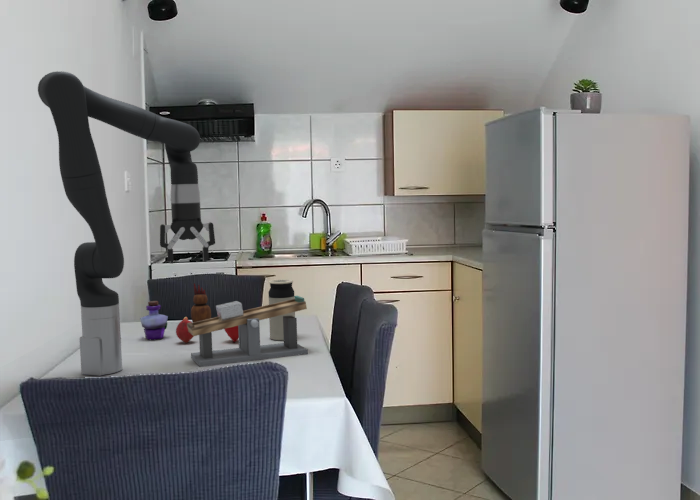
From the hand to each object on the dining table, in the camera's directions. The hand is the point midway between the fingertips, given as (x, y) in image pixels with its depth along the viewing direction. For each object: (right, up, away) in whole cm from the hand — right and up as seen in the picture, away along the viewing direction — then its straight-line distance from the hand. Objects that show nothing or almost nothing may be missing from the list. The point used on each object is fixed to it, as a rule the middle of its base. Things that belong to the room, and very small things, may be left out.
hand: (188, 262), depth 181 cm
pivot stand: (+15, -26, +7) cm, 31 cm away
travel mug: (+22, -25, +30) cm, 45 cm away
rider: (+11, -16, +4) cm, 19 cm away
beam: (+15, -16, +6) cm, 23 cm away
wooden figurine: (-9, -23, +55) cm, 60 cm away
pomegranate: (-7, -25, +27) cm, 37 cm away
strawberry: (+8, -25, +26) cm, 37 cm away
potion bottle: (-19, -25, +34) cm, 47 cm away
